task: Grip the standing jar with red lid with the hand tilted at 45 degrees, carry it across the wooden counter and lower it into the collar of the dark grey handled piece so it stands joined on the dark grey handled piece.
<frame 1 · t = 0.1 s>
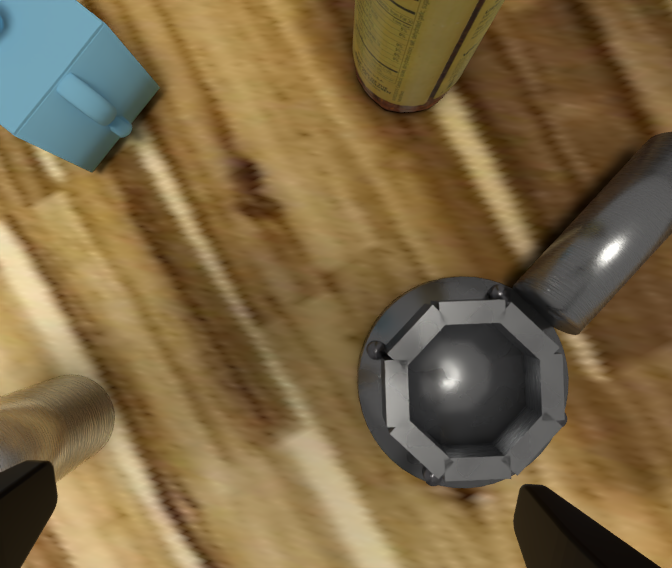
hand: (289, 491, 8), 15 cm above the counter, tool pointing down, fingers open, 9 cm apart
jar with red lid: (70, 418, 23), on the counter
sauce bottle: (400, 69, 23), on the counter
teapot: (75, 89, 23), on the counter
dark grey handled piece: (459, 379, 23), on the counter
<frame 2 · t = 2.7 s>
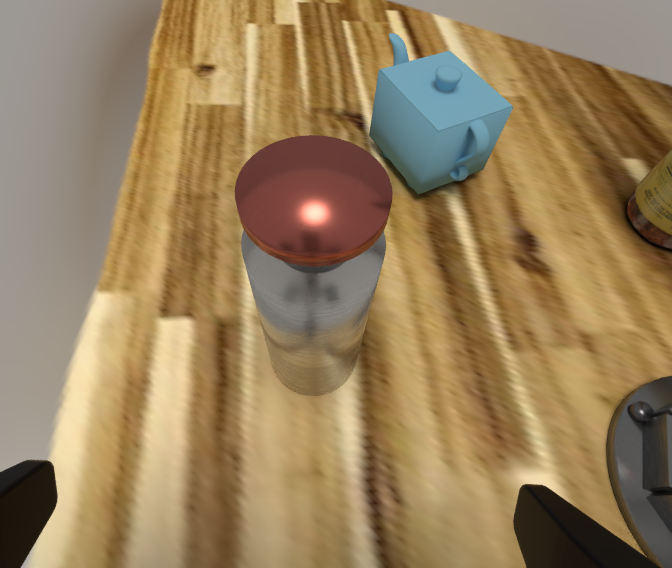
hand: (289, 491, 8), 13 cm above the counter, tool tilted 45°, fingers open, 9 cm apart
jar with red lid: (313, 352, 23), on the counter
sauce bottle: (658, 224, 30), on the counter
teapot: (415, 156, 33), on the counter
when the fingers open (9 cm above the counter, at t = 9.3 s): jar with red lid drops 1 cm, resting on dark grey handled piece.
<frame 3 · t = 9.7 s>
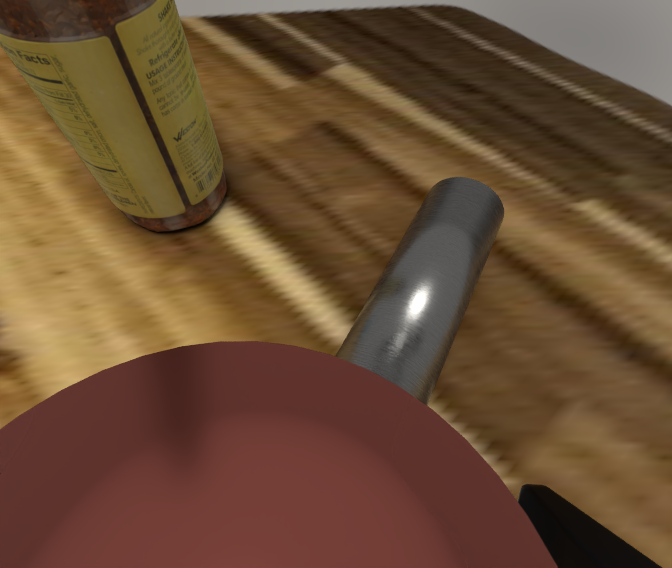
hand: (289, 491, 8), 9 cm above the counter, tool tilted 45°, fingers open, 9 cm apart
jar with red lid: (296, 553, 14), point 1 cm above the counter, touching dark grey handled piece
sauce bottle: (173, 199, 23), on the counter
dark grey handled piece: (298, 547, 14), on the counter
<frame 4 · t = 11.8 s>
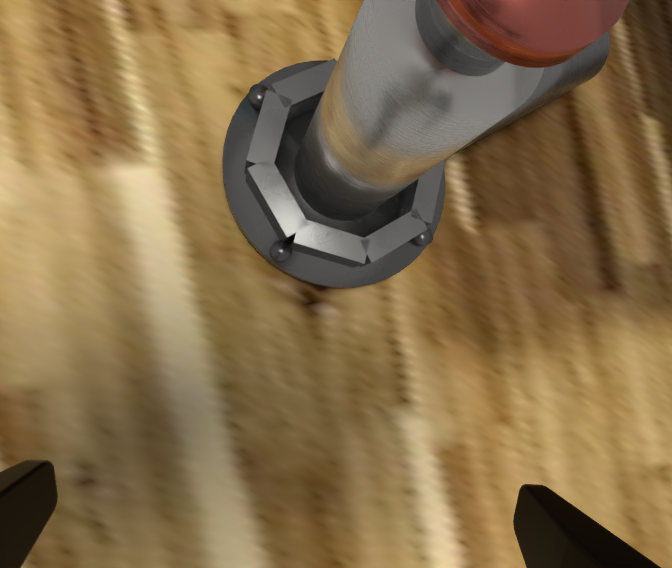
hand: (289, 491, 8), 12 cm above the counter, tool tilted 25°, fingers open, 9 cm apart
jar with red lid: (341, 173, 20), point 1 cm above the counter, touching dark grey handled piece
dark grey handled piece: (338, 177, 21), on the counter
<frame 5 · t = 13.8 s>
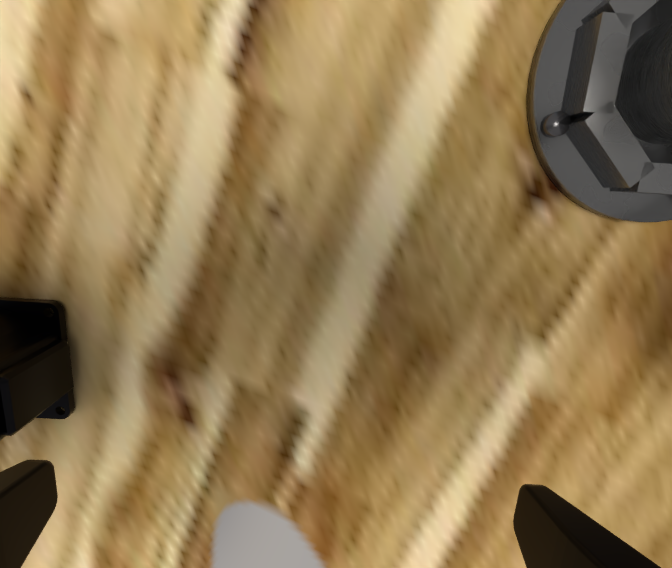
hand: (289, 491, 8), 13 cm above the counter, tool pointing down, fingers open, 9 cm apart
dark grey handled piece: (659, 87, 18), on the counter
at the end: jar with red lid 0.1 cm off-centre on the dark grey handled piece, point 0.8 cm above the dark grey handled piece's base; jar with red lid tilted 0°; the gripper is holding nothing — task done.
